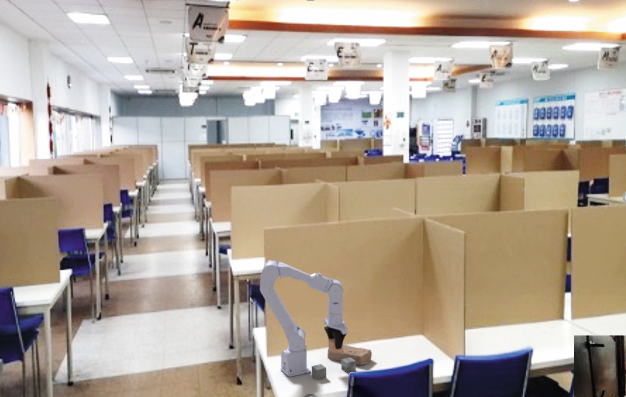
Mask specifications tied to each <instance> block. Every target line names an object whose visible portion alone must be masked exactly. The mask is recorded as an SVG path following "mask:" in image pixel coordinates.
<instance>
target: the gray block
mask: <svg viewBox="0 0 626 397" xmlns="http://www.w3.org/2000/svg"><path fill="white" fill-rule="evenodd" d="M311 377H312V378H313V379H315V380H316V381H319V380H323V379H326V378H327V367H326V366H324V365H323V364H322V363H320V364H316V365H311Z"/></svg>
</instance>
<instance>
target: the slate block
mask: <svg viewBox="0 0 626 397" xmlns="http://www.w3.org/2000/svg"><path fill="white" fill-rule="evenodd" d="M340 362H341V365H340V366H341V370H342V371H343V372H345V373H346V374H347V373H348V372H349V373H351V372H350V371H353V372H356V371H357V367H356V366H357V365H356V361H355V360H353V359H352V358H346V359H341V361H340Z"/></svg>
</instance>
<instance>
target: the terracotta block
mask: <svg viewBox="0 0 626 397" xmlns="http://www.w3.org/2000/svg"><path fill="white" fill-rule="evenodd" d="M343 345H344V343H343V344H342V348H341V349H336V347H335V339H328V349H329V350H330V351H331V352H333V353H337V352H341V351H343Z"/></svg>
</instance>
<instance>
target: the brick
mask: <svg viewBox="0 0 626 397" xmlns="http://www.w3.org/2000/svg"><path fill="white" fill-rule="evenodd" d="M372 354H373V353H372V350H371V349H368V348H363V347H355V346H352V345H348V344H343V351H341V352H337V353H333V352H331V351H330V350H329V348H328V349H327V359H329V360H332V361H337V362H341V359H346V358H352V359H353V360H355V361H356V366H364V365H366V364H367V363H369V362H370V361H371V360H372V356H373V355H372Z"/></svg>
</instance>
